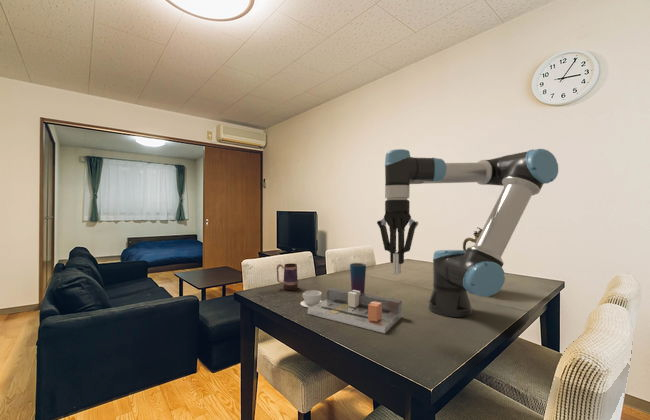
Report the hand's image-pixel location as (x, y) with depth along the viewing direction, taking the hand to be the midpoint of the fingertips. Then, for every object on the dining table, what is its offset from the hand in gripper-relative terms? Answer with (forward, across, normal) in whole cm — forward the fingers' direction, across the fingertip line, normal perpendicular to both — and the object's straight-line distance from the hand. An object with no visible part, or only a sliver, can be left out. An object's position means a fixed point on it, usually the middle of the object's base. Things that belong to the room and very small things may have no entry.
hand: (397, 273), depth 92 cm
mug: (+19, +60, -17) cm, 66 cm away
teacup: (+19, +38, -6) cm, 42 cm away
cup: (+19, +24, -21) cm, 37 cm away
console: (+18, +18, -4) cm, 26 cm away
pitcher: (+19, -18, -62) cm, 67 cm away
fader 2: (+16, +8, 0) cm, 18 cm away
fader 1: (+16, +20, -8) cm, 27 cm away
